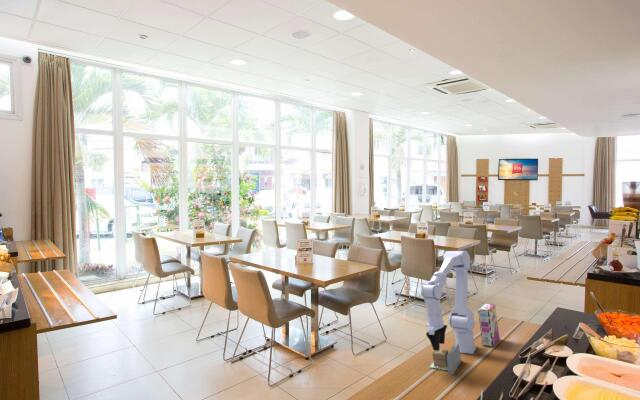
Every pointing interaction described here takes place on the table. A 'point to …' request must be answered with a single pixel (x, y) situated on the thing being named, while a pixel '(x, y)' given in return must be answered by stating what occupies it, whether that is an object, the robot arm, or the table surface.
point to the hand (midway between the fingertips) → (439, 346)
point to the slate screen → (453, 359)
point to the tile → (438, 367)
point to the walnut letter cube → (440, 358)
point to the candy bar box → (488, 324)
